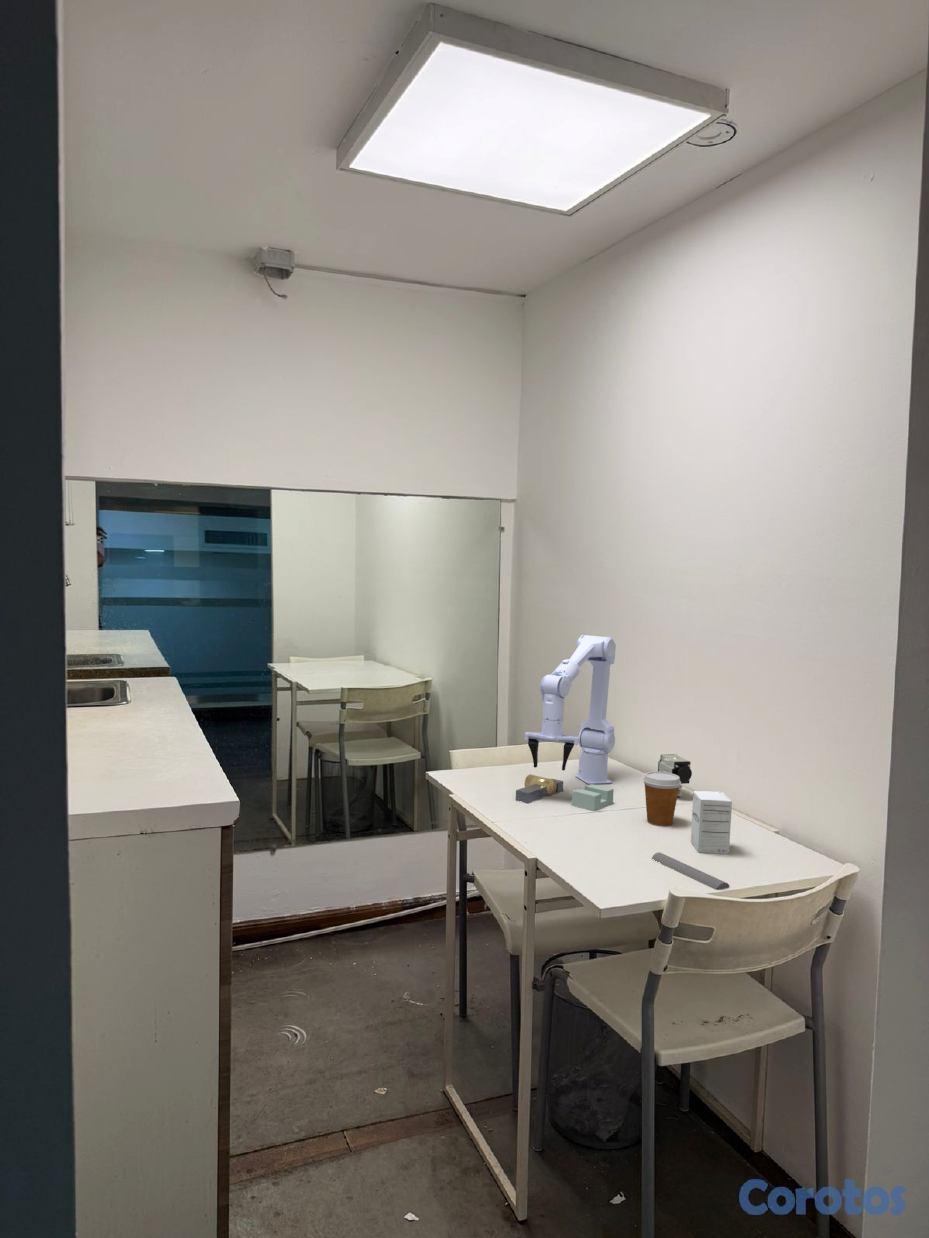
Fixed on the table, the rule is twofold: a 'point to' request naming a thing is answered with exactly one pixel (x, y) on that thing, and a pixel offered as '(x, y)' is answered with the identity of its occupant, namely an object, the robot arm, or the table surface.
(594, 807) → the v block
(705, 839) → the supplement box
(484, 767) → the table surface
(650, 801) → the disposable coffee cup
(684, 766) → the pneumatic valve
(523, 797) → the grey rectangular blocks
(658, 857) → the half round rod
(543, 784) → the gold rounded piece
